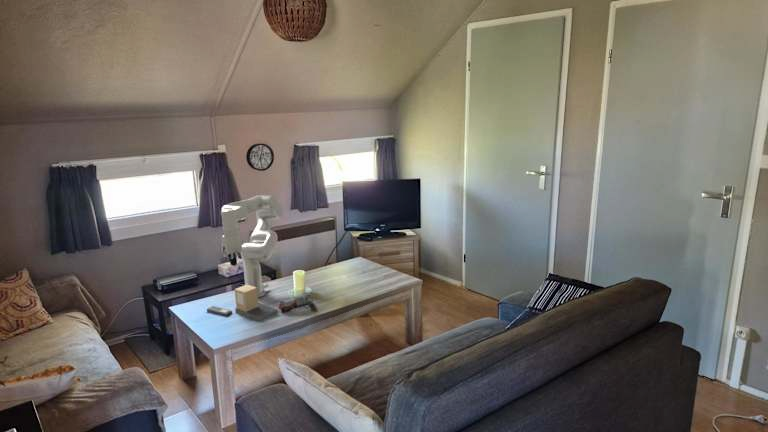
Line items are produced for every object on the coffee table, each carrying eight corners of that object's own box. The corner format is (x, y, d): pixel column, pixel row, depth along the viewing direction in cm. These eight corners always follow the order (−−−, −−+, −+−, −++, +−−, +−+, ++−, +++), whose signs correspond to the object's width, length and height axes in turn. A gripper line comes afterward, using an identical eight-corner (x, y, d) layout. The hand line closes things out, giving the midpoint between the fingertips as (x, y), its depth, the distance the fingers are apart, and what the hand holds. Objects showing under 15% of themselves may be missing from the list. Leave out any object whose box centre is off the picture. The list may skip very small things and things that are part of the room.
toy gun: (282, 316, 265) (277, 299, 262) (318, 308, 265) (313, 291, 263) (281, 320, 260) (276, 303, 258) (317, 311, 261) (313, 295, 259)
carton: (248, 303, 268) (246, 284, 265) (258, 306, 263) (256, 287, 261) (236, 308, 262) (234, 289, 259) (246, 311, 257) (244, 292, 254)
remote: (207, 312, 264) (206, 308, 264) (213, 309, 268) (213, 305, 267) (226, 317, 258) (225, 313, 257) (232, 314, 262) (231, 310, 261)
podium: (253, 304, 271) (253, 300, 271) (277, 313, 260) (277, 309, 259) (235, 312, 262) (235, 308, 262) (260, 322, 251) (259, 317, 250)
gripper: (237, 228, 266) (240, 259, 270) (214, 234, 254) (217, 267, 258) (246, 230, 261) (249, 262, 266) (222, 236, 250) (226, 270, 254)
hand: (233, 264), depth 262 cm, fingers closed
